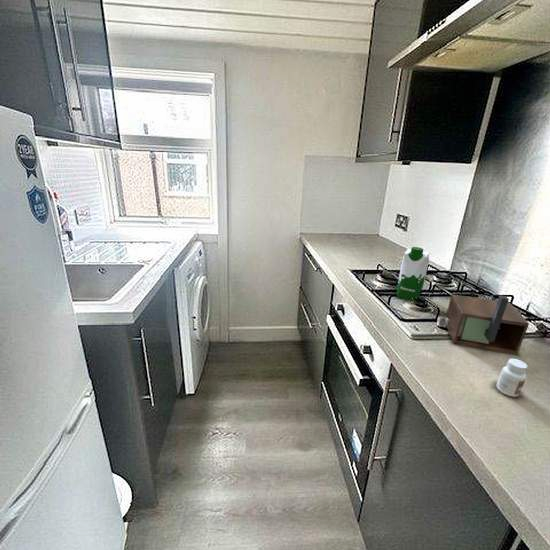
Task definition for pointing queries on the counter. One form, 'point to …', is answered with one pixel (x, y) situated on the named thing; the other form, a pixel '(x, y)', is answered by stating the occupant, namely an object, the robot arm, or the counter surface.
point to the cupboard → (478, 308)
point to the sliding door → (485, 325)
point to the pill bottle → (512, 377)
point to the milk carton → (412, 273)
